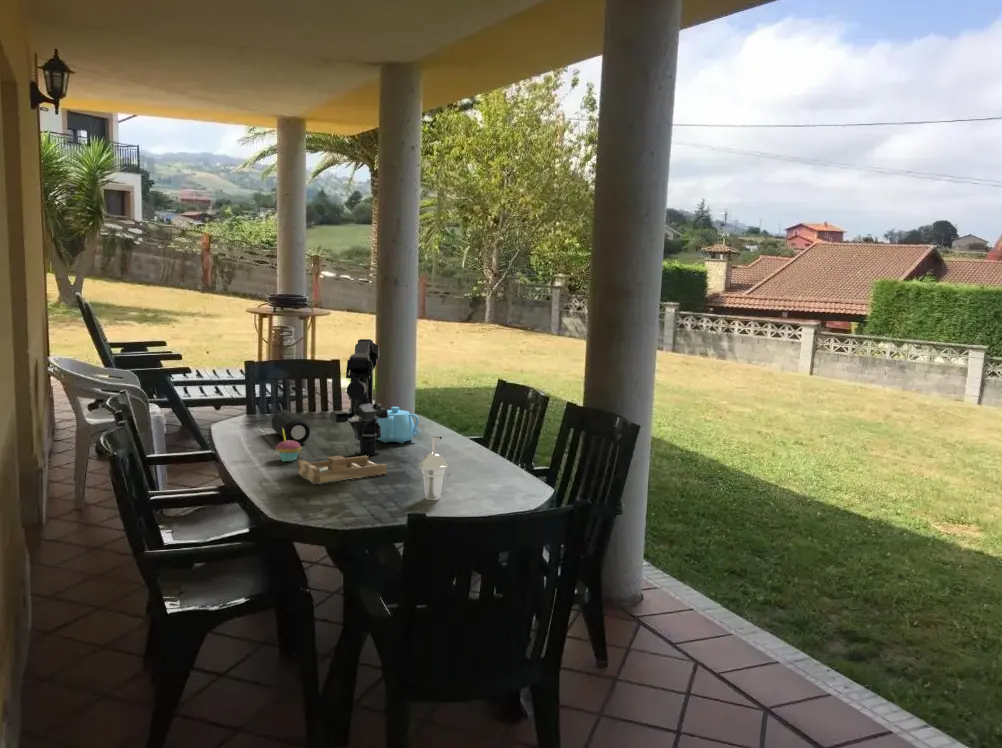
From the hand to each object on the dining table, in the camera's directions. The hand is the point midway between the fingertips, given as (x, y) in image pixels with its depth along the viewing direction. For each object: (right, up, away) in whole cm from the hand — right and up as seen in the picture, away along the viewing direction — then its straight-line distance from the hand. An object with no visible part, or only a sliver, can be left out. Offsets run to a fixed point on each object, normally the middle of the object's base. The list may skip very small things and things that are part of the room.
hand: (359, 440), depth 266 cm
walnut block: (-7, -9, -3) cm, 12 cm away
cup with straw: (+27, -16, -25) cm, 40 cm away
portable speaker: (-36, -4, +48) cm, 60 cm away
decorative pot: (+5, -5, +50) cm, 50 cm away
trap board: (-5, -11, -2) cm, 13 cm away
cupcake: (-27, -9, +15) cm, 32 cm away
